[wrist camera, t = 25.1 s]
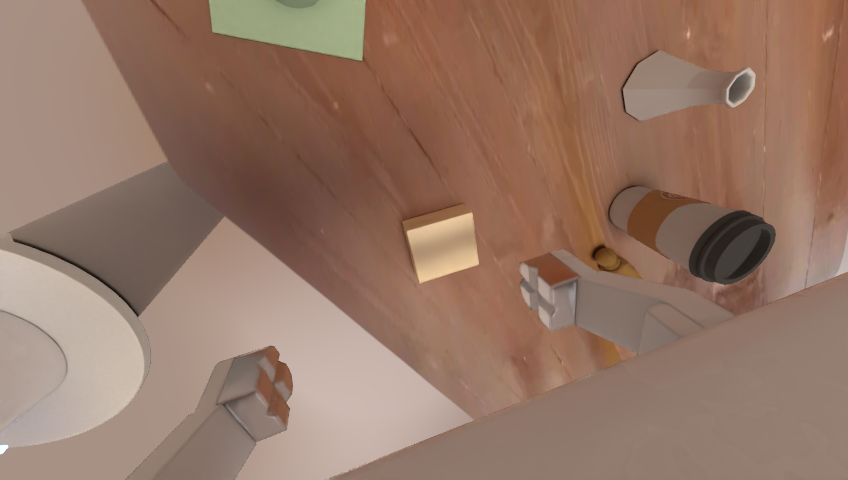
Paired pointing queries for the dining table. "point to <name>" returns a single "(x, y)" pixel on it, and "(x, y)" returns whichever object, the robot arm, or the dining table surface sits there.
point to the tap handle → (615, 263)
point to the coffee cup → (695, 233)
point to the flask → (681, 86)
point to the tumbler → (298, 3)
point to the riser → (441, 242)
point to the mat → (295, 24)
